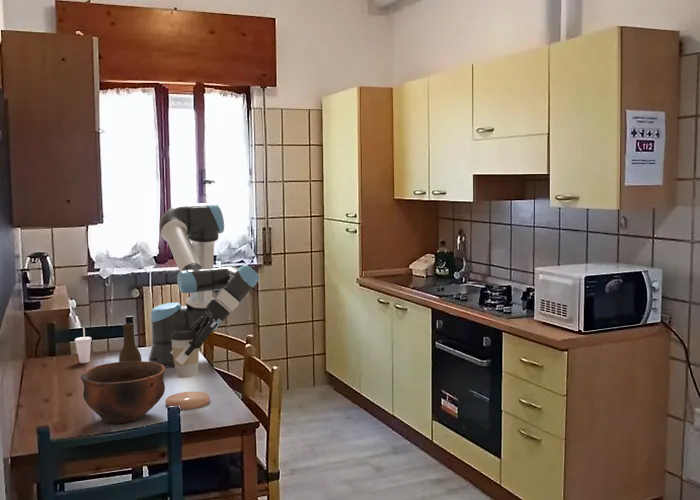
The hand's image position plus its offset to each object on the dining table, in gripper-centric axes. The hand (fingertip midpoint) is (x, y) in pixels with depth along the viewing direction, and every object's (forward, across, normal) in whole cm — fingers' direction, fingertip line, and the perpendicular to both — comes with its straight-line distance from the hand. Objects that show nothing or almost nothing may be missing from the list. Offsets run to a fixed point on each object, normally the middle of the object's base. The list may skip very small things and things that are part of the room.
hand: (176, 358), depth 238 cm
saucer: (+9, 0, -13) cm, 15 cm away
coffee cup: (+2, 0, -6) cm, 7 cm away
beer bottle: (+19, +22, -2) cm, 29 cm away
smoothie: (+28, +74, +7) cm, 79 cm away
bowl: (+23, -6, +1) cm, 24 cm away
